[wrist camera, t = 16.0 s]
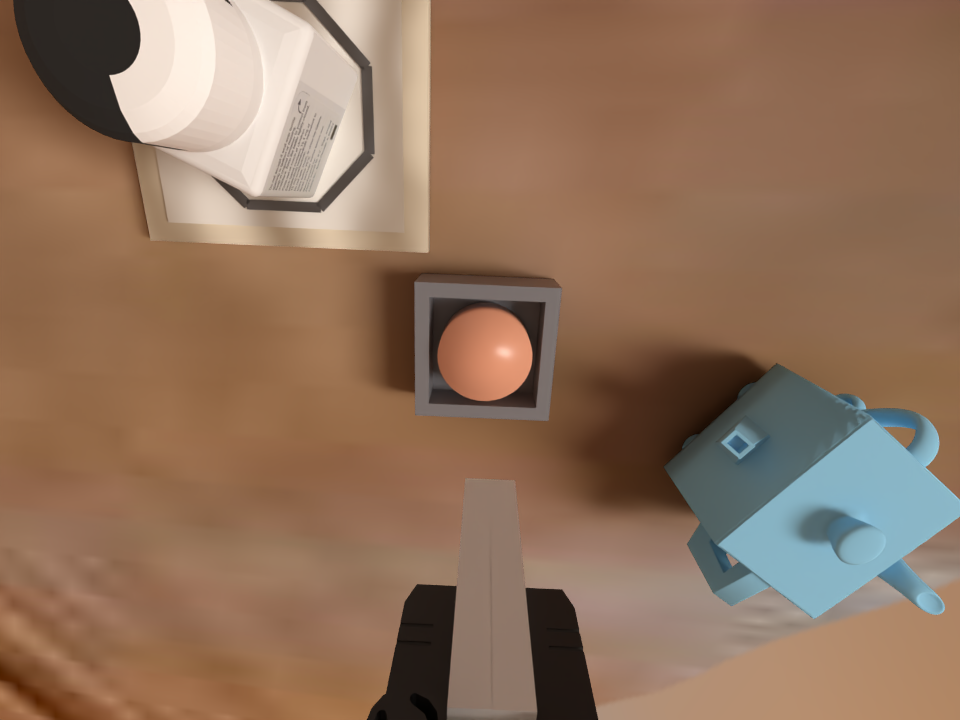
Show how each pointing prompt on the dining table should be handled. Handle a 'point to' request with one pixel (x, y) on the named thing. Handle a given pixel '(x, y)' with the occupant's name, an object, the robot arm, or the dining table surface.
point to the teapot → (811, 495)
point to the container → (197, 83)
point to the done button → (484, 352)
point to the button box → (454, 292)
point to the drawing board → (352, 160)
